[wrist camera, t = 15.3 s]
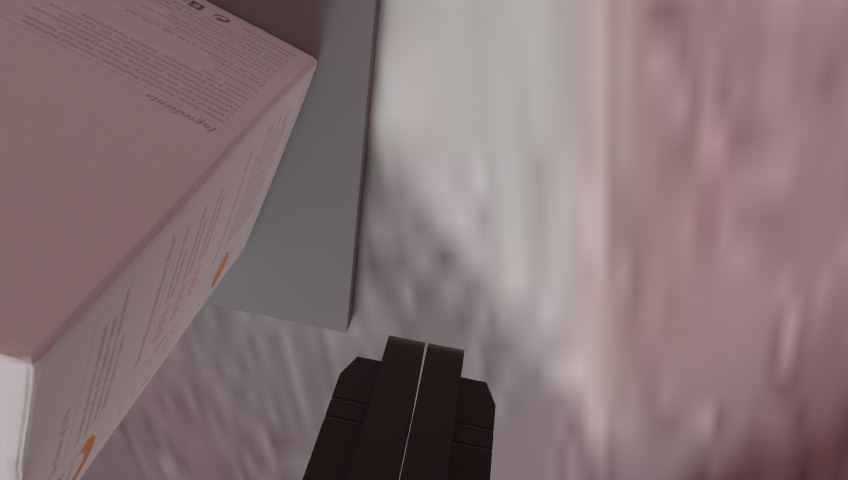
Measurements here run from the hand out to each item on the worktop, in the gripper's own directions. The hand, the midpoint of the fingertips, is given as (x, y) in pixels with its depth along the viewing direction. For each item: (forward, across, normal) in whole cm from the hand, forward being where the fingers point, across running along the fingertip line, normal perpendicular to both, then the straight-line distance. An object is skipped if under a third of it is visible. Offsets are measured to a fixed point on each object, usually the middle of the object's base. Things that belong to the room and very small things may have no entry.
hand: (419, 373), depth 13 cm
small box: (+9, +9, 0) cm, 13 cm away
